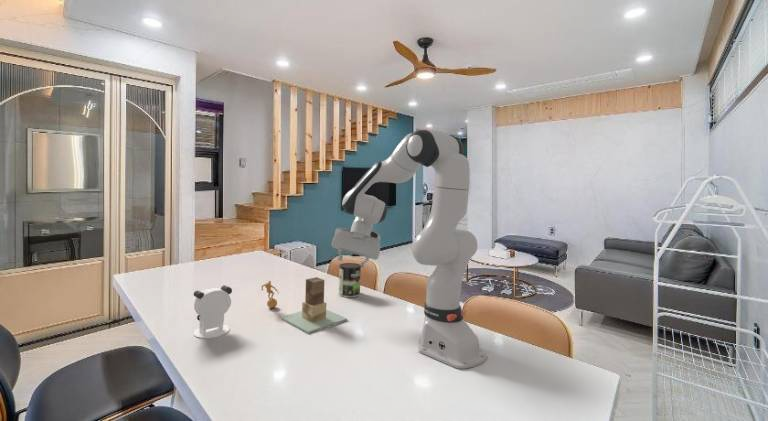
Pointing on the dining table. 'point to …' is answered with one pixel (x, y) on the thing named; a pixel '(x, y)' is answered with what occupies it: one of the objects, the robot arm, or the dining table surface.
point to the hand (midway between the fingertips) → (350, 263)
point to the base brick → (313, 311)
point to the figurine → (271, 301)
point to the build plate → (311, 327)
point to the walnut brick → (314, 291)
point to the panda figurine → (212, 311)
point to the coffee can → (349, 279)
